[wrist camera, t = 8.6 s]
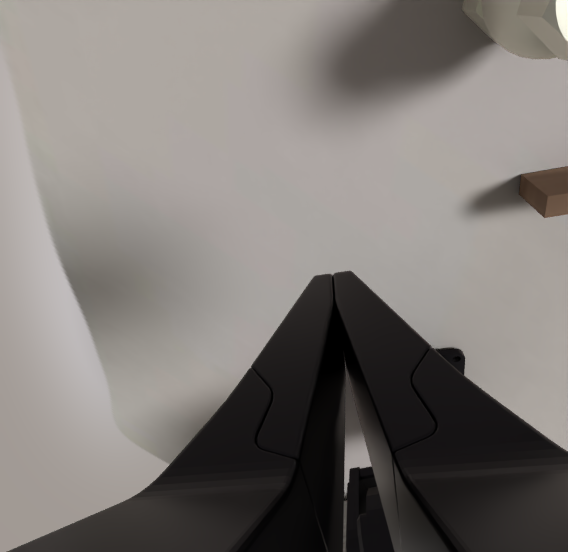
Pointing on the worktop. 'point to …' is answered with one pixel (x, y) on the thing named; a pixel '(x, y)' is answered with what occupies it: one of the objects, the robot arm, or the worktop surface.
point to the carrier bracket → (546, 191)
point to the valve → (523, 25)
